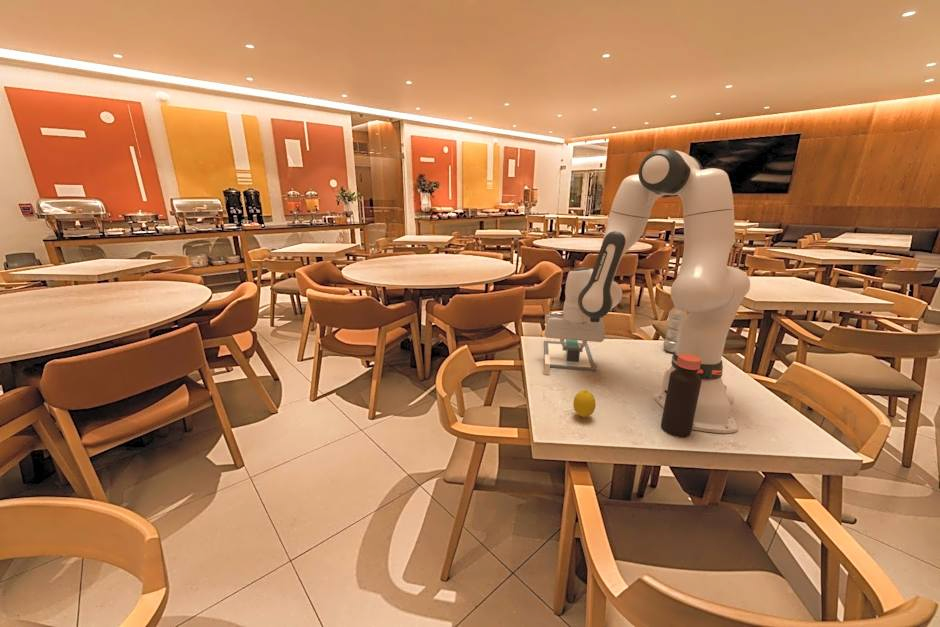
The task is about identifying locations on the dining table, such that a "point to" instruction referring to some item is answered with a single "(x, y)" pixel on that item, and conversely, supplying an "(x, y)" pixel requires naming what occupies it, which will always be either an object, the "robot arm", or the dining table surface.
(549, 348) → the writing board
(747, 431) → the dining table surface
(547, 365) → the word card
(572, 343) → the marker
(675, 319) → the plastic bottle
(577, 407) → the lemon
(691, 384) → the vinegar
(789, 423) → the dining table surface
